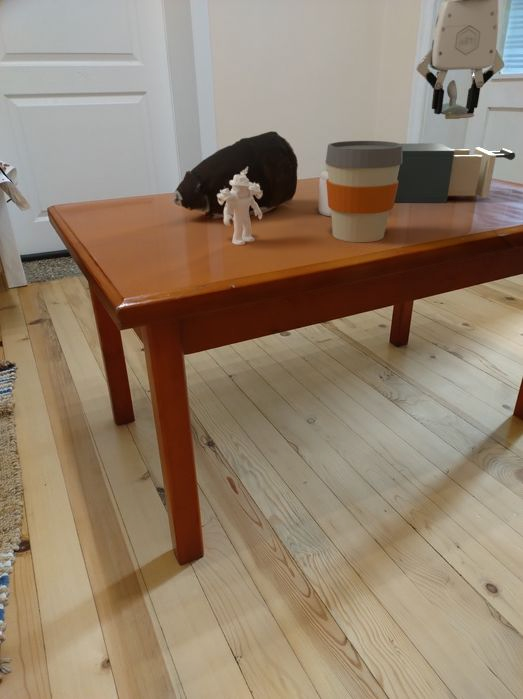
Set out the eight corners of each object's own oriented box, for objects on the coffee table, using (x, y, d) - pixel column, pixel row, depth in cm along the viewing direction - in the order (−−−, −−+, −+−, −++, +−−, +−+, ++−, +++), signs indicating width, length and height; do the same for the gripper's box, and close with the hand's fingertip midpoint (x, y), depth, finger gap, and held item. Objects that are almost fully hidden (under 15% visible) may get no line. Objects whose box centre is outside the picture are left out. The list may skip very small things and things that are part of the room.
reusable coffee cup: (308, 232, 92) (311, 144, 85) (363, 222, 98) (369, 139, 91) (352, 249, 83) (358, 151, 76) (409, 238, 88) (421, 145, 81)
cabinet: (434, 190, 124) (441, 143, 119) (446, 202, 112) (454, 150, 107) (368, 190, 125) (372, 143, 120) (373, 202, 113) (378, 151, 108)
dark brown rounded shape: (150, 156, 99) (256, 122, 108) (167, 227, 109) (263, 191, 118) (184, 176, 89) (298, 137, 98) (200, 252, 99) (302, 211, 108)
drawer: (494, 187, 121) (502, 147, 117) (512, 198, 110) (521, 154, 106) (411, 187, 123) (415, 147, 119) (419, 197, 112) (425, 154, 108)
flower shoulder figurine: (253, 234, 92) (251, 164, 86) (269, 238, 89) (268, 166, 84) (215, 245, 86) (211, 171, 81) (230, 249, 84) (227, 173, 78)
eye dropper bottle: (318, 217, 102) (320, 153, 97) (318, 210, 107) (320, 150, 102) (339, 217, 102) (343, 153, 96) (339, 210, 107) (342, 150, 101)
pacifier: (469, 117, 95) (436, 117, 96) (475, 79, 92) (441, 79, 93) (477, 120, 89) (441, 120, 90) (484, 80, 86) (447, 80, 87)
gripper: (421, -9, 81) (408, 116, 90) (532, -15, 79) (509, 113, 88) (413, -3, 88) (402, 113, 96) (515, -8, 86) (495, 110, 95)
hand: (453, 112), depth 92 cm, fingers closed on pacifier, 5 cm apart
